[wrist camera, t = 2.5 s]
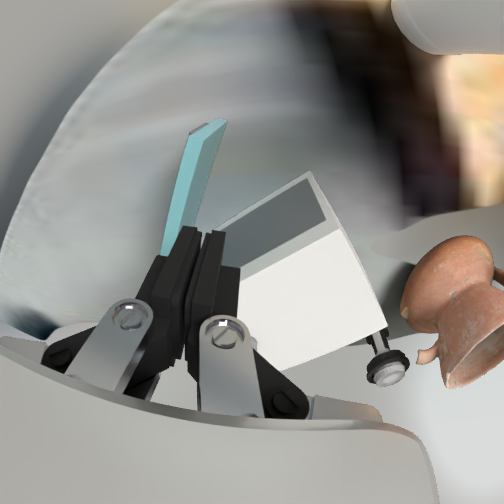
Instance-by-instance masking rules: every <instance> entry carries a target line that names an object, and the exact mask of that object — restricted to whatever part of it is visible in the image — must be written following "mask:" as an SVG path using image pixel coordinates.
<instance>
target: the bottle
mask: <svg viewBox="0 0 504 504" xmlns="http://www.w3.org/2000/svg"><path fill="white" fill-rule="evenodd" d="M391 10H392V14H393V18H394V20H395V22H396V24H397V25H398V27H399V29H400V31H401V32H402V33H403V34H404V35H405V37H406V38H407V39H408V40H409V41H410V42H411V43H412V44H414V45H415V46H417V47H418V48H419V49H421V50H422V51H425V52H428V53H430V54H433V55H439V54H440V55H461V54H499V55H504V0H391Z"/></svg>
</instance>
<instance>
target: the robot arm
mask: <svg viewBox="0 0 504 504" xmlns="http://www.w3.org/2000/svg"><path fill="white" fill-rule="evenodd" d="M225 237H226V232H223V231H217V230H212V232H211V233H206V234H205V237H204V240H203V243H202V247H201V240H202V232H199V231H197V227H191V226H184V225H183V226H182V228H181V230H180V232H179V234H178V236H177V238H176V241H175V243H174V245H173V247H172V249H171V251H170V253H169V255H168V256H162V255H157V256H156V258H155V260H154V262H153V264H152V266H151V268H150V269H149V271H148V273H147V275H146V277H145V279H144V282H143V284H142V286H141V288H140V290H139V292H138V294H137V296H136V298H135V299H124V300H120V301H118V302H117V303H115V304H114V305H112V306H111V307H110V309H109V310H108V311H107V313H106V314H105V315H104V317H103V318H102V319H101V321H100V322H99V324H98V325H97V326H95V327H92V328H90V329H87V330H85V331H83V332H80V333H78V334H75V335H72V336H70V337H68V338H65V339H62V340H60V341H57V342H55V343H53V344H52V345H50V346H48V345H47V344H46V343H45V342H38V341H31V340H25V339H19V338H13V337H1V338H0V504H440V502H439V495H438V490H437V485H436V479H435V475H434V471H433V468H432V465H431V461H430V459H429V456H428V453H427V451H426V448H425V446H424V445H423V443H422V441H421V440H420V439H419V438H418V437H417V436H416V435H415V434H413V433H412V432H410V431H408V430H406V429H404V428H401V427H398V426H395V425H392V424H388V423H383V421H382V416H381V415H380V413H379V411H378V410H377V409H375V408H374V407H373V406H370V405H366V404H360V403H355V402H348V401H343V400H337V399H332V398H328V397H323V396H318V395H315V396H314V397H310V396H306V395H305V394H304V393H303V392H302V391H301V390H300V389H299V388H298V387H297V386H296V385H294V384H293V383H292V382H291V381H290V380H289V379H287V378H286V377H285V376H284V375H283V374H282V373H280V372H279V371H278V370H277V369H276V368H275V367H274V366H272V365H271V364H270V363H269V362H268V361H267V360H266V359H265V358H263V357H262V356H261V355H260V354H259V353H258V352H257V351H256V350H255V349H254V348H252V342H251V336H250V332H249V330H248V327H247V326H246V325H245V324H244V323H243V322H242V321H240V320H239V319H237V311H238V298H239V286H240V273H241V268H236V267H230V266H223V265H222V258H223V251H224V244H225ZM184 344H185V360H186V361H188V372H189V374H190V375H191V376H192V377H193V378H194V379H195V381H196V382H197V403H198V404H197V406H198V411H195V410H189V409H183V408H178V407H173V406H168V405H163V404H158V403H154V402H150V399H151V397H152V395H153V393H154V390H155V388H156V386H157V384H158V381H159V379H160V375H161V372H162V371H164V370H166V369H168V368H169V366H172V367H174V363H175V359H181V357H182V352H183V348H184Z"/></svg>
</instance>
